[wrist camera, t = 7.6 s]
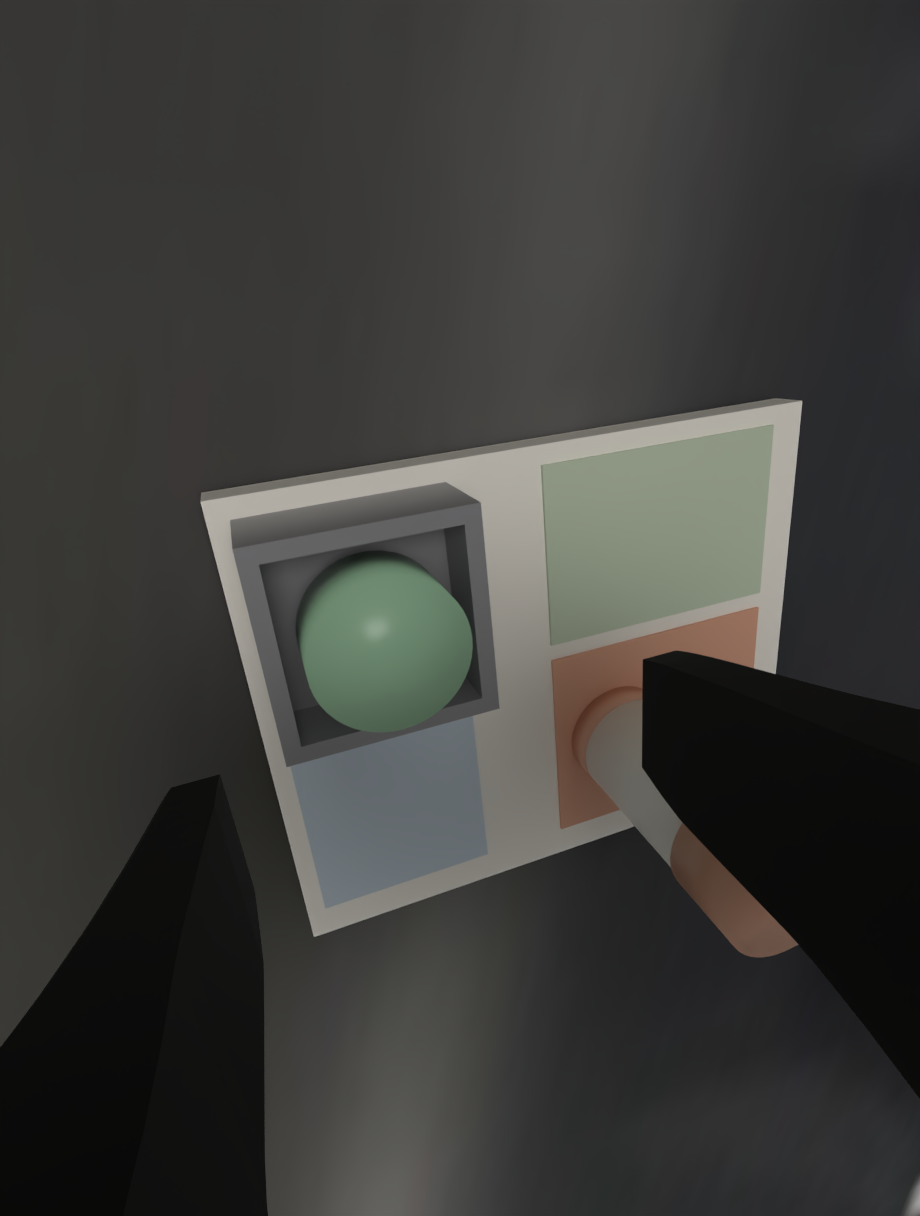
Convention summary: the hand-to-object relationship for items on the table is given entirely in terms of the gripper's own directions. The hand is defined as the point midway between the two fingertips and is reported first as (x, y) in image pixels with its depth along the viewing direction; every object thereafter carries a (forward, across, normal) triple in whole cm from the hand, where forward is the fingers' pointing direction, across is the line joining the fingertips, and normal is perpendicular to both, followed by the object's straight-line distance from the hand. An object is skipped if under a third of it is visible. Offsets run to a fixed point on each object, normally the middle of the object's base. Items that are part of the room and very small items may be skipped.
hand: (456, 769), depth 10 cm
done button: (+6, 0, 0) cm, 6 cm away
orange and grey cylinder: (+7, -7, +6) cm, 12 cm away
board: (+8, -5, +4) cm, 10 cm away
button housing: (+7, 0, 0) cm, 7 cm away
